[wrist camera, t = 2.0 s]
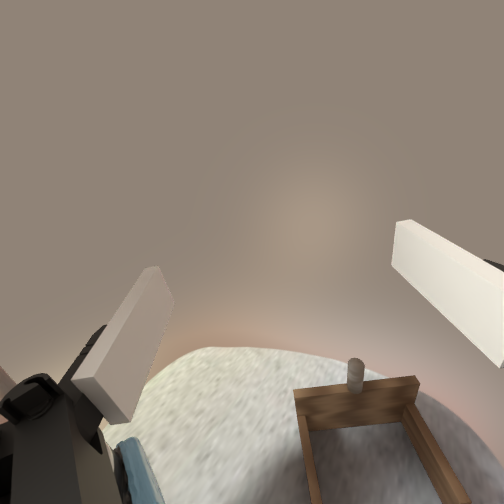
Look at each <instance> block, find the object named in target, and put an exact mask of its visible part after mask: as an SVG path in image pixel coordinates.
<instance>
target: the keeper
mask: <svg viewBox="0 0 504 504" xmlns="http://www.w3.org/2000/svg"><path fill="white" fill-rule="evenodd" d="M364 368H365V365H364V363H363V362H362V361H361V360H360V359H358V358H351V359H350V360H349V361H348V373H347V383H346V384H337V385H329V386H320V387H312V388H303V389H295V390H293V392H294V399H295V406H296V413H297V419H298V426H299V432H300V438H301V444H302V450H303V456H304V462H305V468H306V474H307V480H308V486H309V492H310V498H311V504H322V499H321V494H320V489H319V484H318V479H317V474H316V469H315V464H314V458H313V453H312V448H311V443H310V438H309V433H308V431H317V430H327V429H336V428H346V427H355V426H365V425H374V424H384V423H393V422H401V423H402V425H403V427H404V429H405V430H406V432H407V434H408V436H409V438H410V440H411V442H412V444H413V446H414V448H415V450H416V452H417V454H418V456H419V458H420V460H421V462H422V464H423V466H424V468H425V470H426V472H427V474H428V476H429V478H430V480H431V482H432V484H433V486H434V488H435V490H436V492H437V494H438V496H439V498H440V500H441V502H442V504H471V503H472V502H471V500H470V498H469V497H468V495H467V493H466V492H465V490H464V488H463V486H462V485H461V483H460V481H459V480H458V478H457V476H456V474H455V473H454V471H453V469H452V468H451V466H450V464H449V462H448V461H447V459H446V457H445V456H444V454H443V452H442V450H441V449H440V447H439V445H438V444H437V442H436V440H435V438H434V437H433V435H432V433H431V432H430V430H429V428H428V426H427V425H426V423H425V421H424V420H423V418H422V416H421V414H420V413H419V411H418V409H417V408H416V406H415V404H414V403H415V399H416V396H417V393H418V389H419V386H420V383H419V381H418V380H417V378H416V377H415V375H414V376H406V377H398V378H389V379H380V380H372V381H363V378H364Z"/></svg>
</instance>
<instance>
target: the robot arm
mask: <svg viewBox="0 0 504 504" xmlns="http://www.w3.org/2000/svg"><path fill="white" fill-rule="evenodd" d="M391 266H392V267H393V268H395V269H396V270H397V271H398V272H399V273H400V274H401V275H402V276H403V277H404V278H405V279H406V280H407V281H408V282H409V283H410V284H411V285H412V286H413V287H414V288H416V289H417V290H418V291H419V292H420V293H421V294H422V295H423V296H424V297H425V298H426V299H427V300H428V301H429V302H430V303H431V304H432V305H434V307H436V308H437V309H438V310H439V311H440V312H441V313H442V314H443V315H444V316H445V317H446V318H447V319H448V320H449V321H450V322H451V323H452V324H454V326H455V327H457V328H458V329H459V330H460V331H461V332H462V333H463V334H464V335H465V336H466V337H467V338H468V339H469V340H470V341H471V342H472V343H473V344H474V345H475V346H477V347H478V348H479V349H480V350H481V351H482V352H483V353H484V354H485V355H486V356H487V357H488V358H489V359H490V360H491V361H492V362H493V363H494V364H495V365H496V366H497V367H499V368H504V266H503V265H501V264H498V263H495V262H492V261H489V260H486V259H484V260H481V259H480V258H478V257H476V256H474V255H473V254H471V253H469V252H467V251H465V250H464V249H462V248H460V247H459V246H457V245H455V244H453V243H451V242H450V241H448V240H446V239H445V238H443V237H441V236H439V235H437V234H436V233H434V232H432V231H430V230H429V229H427V228H425V227H423V226H422V225H420V224H418V223H416V222H415V221H413V220H406V221H400V222H396V230H395V239H394V248H393V257H392V265H391ZM174 304H175V302H174V300H173V298H172V295H171V293H170V291H169V289H168V286H167V284H166V282H165V279H164V277H163V275H162V273H161V271H160V268H159V266H154V267H148V268H145V269H144V271H143V272H142V274H141V275H140V277H139V278H138V280H137V281H136V283H135V284H134V286H133V287H132V289H131V290H130V292H129V293H128V295H127V296H126V298H125V299H124V301H123V302H122V304H121V305H120V307H119V308H118V310H117V311H116V313H115V315H114V316H113V317H112V319H111V320H110V322H109V323H108V325H103V326H102V327H101V328H100V329H99V330H98V331H97V332H95V333H94V334H93V335H92V337H91V338H90V340H89V341H88V342H87V344H86V347H84V348H83V349H82V351H81V352H80V355H79V356H78V357H77V358H76V360H75V361H74V363H73V364H72V365H71V366H70V368H69V369H68V371H67V372H66V374H65V375H64V376H63V378H62V379H61V381H60V382H59V383H58V384H56V382H55V381H54V380H53V379H52V378H51V377H50V376H49V375H48V374H45V373H41V374H36V375H33V376H31V377H29V378H27V379H25V380H23V381H22V382H20V383H19V384H16V383H15V381H14V380H13V379H12V378H11V377H10V376H9V375H8V374H7V373H6V372H5V371H4V369H3V368H2V367H1V366H0V504H165V501H164V498H163V496H162V493H161V490H160V488H159V485H158V483H157V480H156V478H155V475H154V473H153V470H152V468H151V465H150V463H149V460H148V458H147V456H146V453H145V451H144V449H143V447H142V445H141V443H140V441H139V440H138V439H137V438H136V437H130V438H128V439H126V440H125V441H121V442H120V443H118V444H117V446H116V448H115V449H114V450H112V449H111V447H110V446H109V445H108V444H107V443H106V442H105V440H104V436H103V433H102V431H101V430H100V428H99V425H100V423H101V420H102V418H103V417H104V418H105V419H106V420H107V421H108V422H109V423H110V425H115V424H122V423H129V422H131V420H132V417H133V414H134V412H135V409H136V406H137V404H138V401H139V398H140V396H141V393H142V390H143V388H144V385H145V382H146V379H147V377H148V374H149V371H150V368H151V366H152V363H153V361H154V358H155V355H156V353H157V350H158V347H159V344H160V342H161V339H162V336H163V334H164V331H165V328H166V326H167V323H168V320H169V318H170V315H171V312H172V310H173V307H174Z"/></svg>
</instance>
